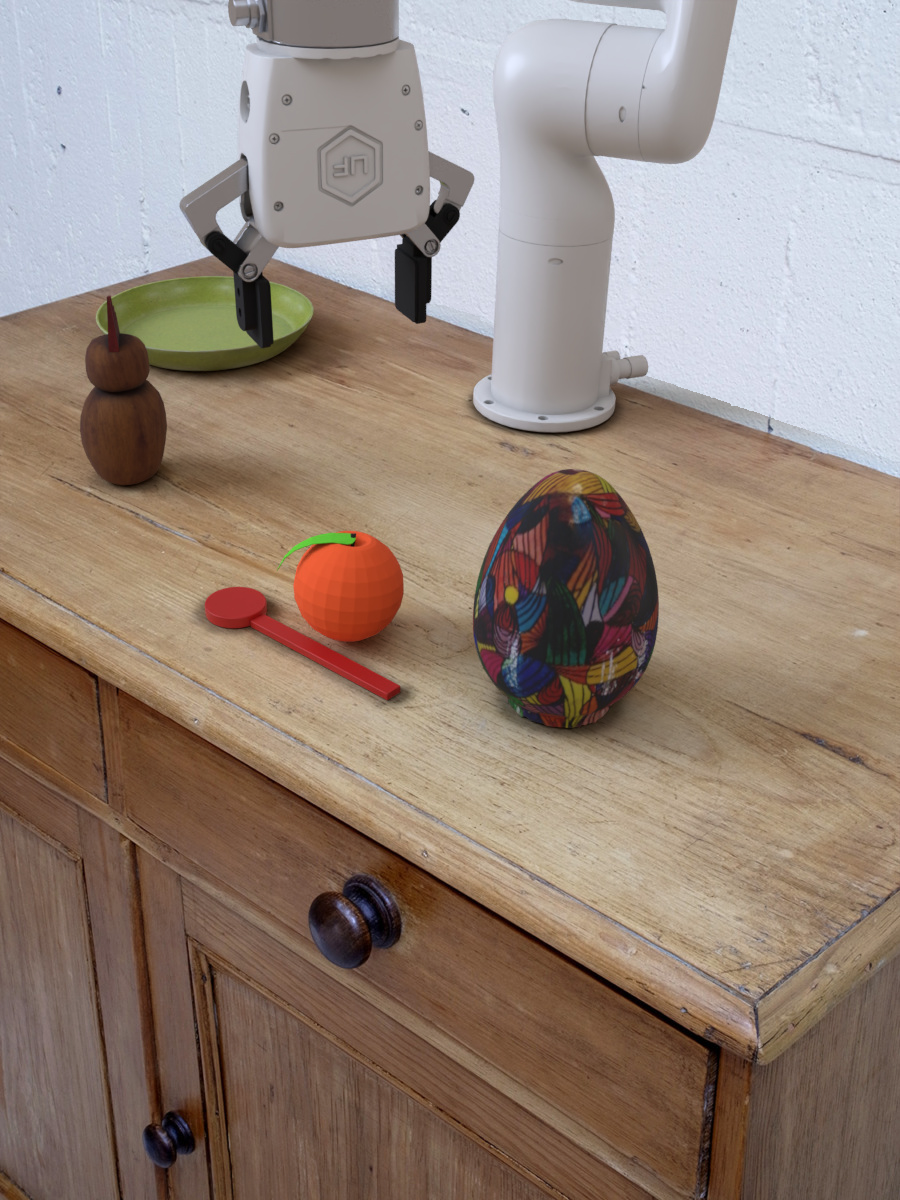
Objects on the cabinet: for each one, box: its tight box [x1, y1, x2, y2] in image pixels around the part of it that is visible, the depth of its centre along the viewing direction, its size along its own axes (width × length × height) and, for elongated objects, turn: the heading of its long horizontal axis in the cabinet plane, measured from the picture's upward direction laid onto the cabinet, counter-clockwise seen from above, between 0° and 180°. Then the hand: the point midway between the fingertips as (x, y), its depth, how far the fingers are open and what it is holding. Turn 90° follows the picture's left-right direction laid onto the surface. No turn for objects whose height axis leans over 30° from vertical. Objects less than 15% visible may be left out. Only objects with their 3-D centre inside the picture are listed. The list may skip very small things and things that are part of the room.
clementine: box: [276, 530, 405, 643], centre depth 82 cm, size 8×7×7 cm
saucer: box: [95, 275, 315, 372], centre depth 127 cm, size 21×21×3 cm
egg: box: [472, 468, 660, 729], centre depth 75 cm, size 11×11×15 cm
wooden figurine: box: [79, 295, 168, 486], centre depth 99 cm, size 7×6×15 cm
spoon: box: [204, 586, 401, 701], centre depth 83 cm, size 16×4×1 cm, turn 50°
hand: (336, 327), depth 78 cm, fingers open, 9 cm apart
